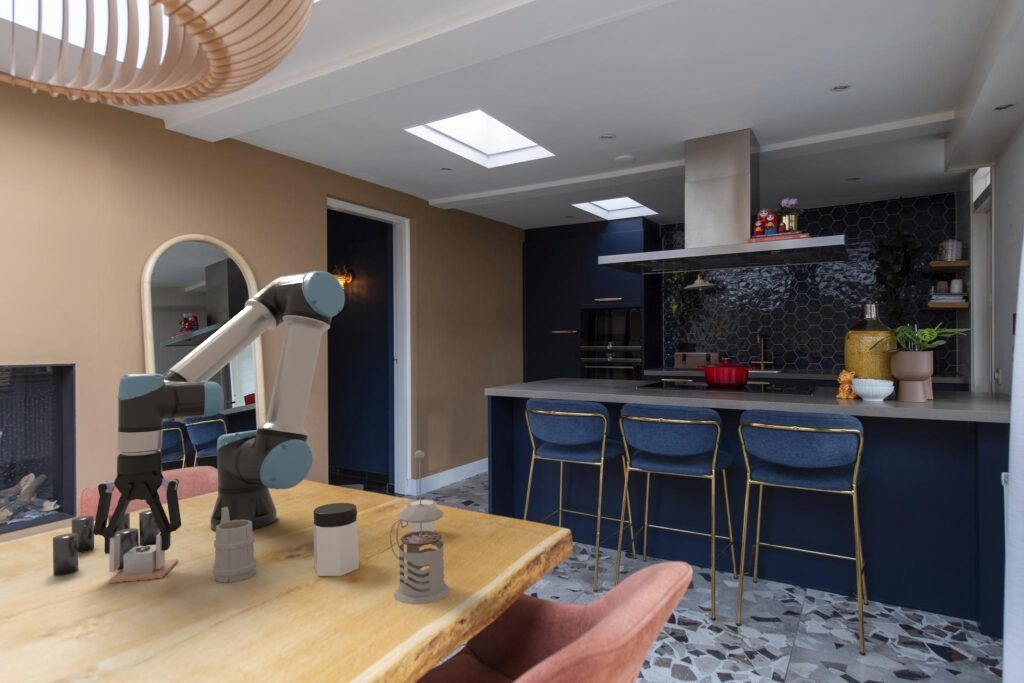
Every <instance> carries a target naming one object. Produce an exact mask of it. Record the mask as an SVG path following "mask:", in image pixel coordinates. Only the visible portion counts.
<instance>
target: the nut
mask: <svg viewBox="0 0 1024 683" xmlns="http://www.w3.org/2000/svg"><path fill="white" fill-rule="evenodd" d="M123 562H124V576H130V575H140V574H151V573H153V572H154V571H156V570H157V569H156V544H153V545H146V546H142V545H139V546H136V547H133V548H132V549H131V550H129V551H128V552H127V553H126V554H124V555H123Z"/></svg>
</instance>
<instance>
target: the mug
mask: <svg viewBox="0 0 1024 683" xmlns="http://www.w3.org/2000/svg"><path fill="white" fill-rule="evenodd" d="M221 511H222V514H221V522H220V524H219V525H217V526H216V531H215V540H214V541H213V546H214V547H213V548H214V553H215V554H214V557H215V558H214V564H213V567H212V574H213V575H214V580H215V579H216V580H215V581H217V582H219V581H221V583H234V582H233V581H235V582H239V581H238V580H240V581H242V580H246V579H248V578H251V577H252V576H253V575H254V574H256V567H257V559H256V558H255V552H254V550H255V549H254V543H255V540H256V539H255V535H254V532H253V531H254V530H253V529H252V522H251V521H250V520H232V521H230V518H229V510H228V507H224V508H221ZM228 581H229V582H228Z"/></svg>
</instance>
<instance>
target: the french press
mask: <svg viewBox="0 0 1024 683" xmlns="http://www.w3.org/2000/svg"><path fill="white" fill-rule="evenodd" d="M413 457H414V458H417V459H418V469H419V470H418V474H419V475H418V477H419V478H418V480H419V500H420V504H418V505H413V506H411V507H408V508H407V507H406V508H404V509H402V510H401V511H400V512H398V514H397V516H396V517H397V518H398V520H397V521H394V523H393V524H392V526H391V527H390V528H391V529H390V530H389V531H390V532H389V544H390V548H391V551H392V553H393V555H394V557H396V559H397V560H399V562H398V565H399V566H398V568H399V570H398V572H399V587H397V589H396V590H395V592H394V596H393V597H394V598H395V599H396V601H397V600H398V601H399V602H402V603H405V604H410V605H422V604H424V605H425V604H429V603H434V602H438V601H439V600H441V599H444V598H446V597H447V596H448V595H449V594H450V592H451V588H450V586H448V585H447V584H446V583H445V580H444V579H445V573H444V572H445V566H444V564H445V560H444V555H445V554H444V542H442V541H441V539H442V536H443V535H442V534H441V533H439V532H437V531H433V532H432V531H422V523H426V522H432V521H435V522H436V521H438V520H440V519H441V518H443V516H444V511H443V510H442V509H440V508H438V507H437V506H436V507H435V506H432V505H427V504H421V500H422V486H421V484H422V482H421V480H422V479H421V475H422V474H421V458H424V457H425V452H424V451H423V450H418V449H417V450H416V451H415V452H414V453H413ZM403 522H405V523H406V524H405V525H403ZM409 522H410V523H420V531H414V532H410V531H409V532H408V533H405V534H403V535H402V536H401V537H400V541H401V542H402V543H401V544H399V538H398V537H399V534H398V532H399V527H401V528H402V529H404V528H406V527H408V526H409ZM397 523H398V524H397ZM396 524H397V526H396V531H395V533H396V537H395V538H396V539H395V540H396V543H397V547H398V555H397V553H396V552H395V551H394V548H393V544H392V533H393V529H394V527H395V525H396ZM405 545H406V552H405ZM428 545H432V546H435V547H436V548H437V549H436V548H432V547H427V548H423V549H421V550H420V548H421V547H423V546H428ZM405 560H406V562H405ZM424 567H428V568H426V569H423V568H424ZM405 568H406V569H405ZM405 575H406V576H405Z"/></svg>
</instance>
